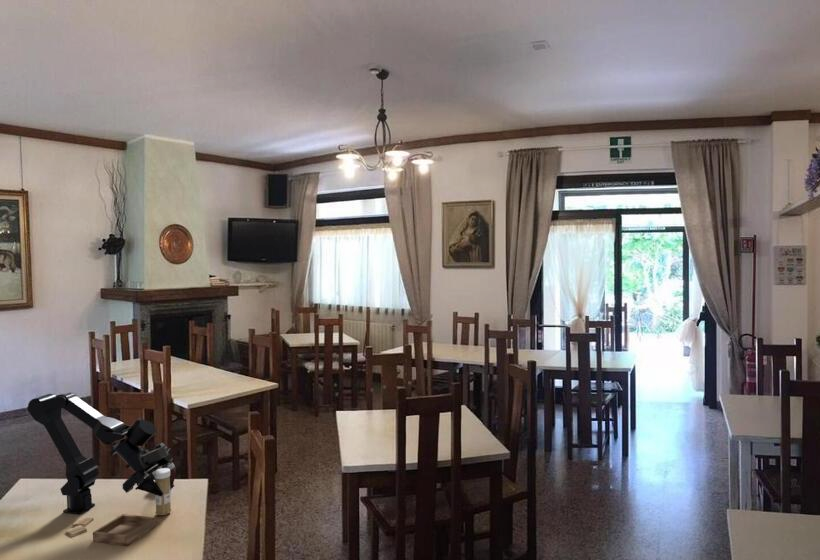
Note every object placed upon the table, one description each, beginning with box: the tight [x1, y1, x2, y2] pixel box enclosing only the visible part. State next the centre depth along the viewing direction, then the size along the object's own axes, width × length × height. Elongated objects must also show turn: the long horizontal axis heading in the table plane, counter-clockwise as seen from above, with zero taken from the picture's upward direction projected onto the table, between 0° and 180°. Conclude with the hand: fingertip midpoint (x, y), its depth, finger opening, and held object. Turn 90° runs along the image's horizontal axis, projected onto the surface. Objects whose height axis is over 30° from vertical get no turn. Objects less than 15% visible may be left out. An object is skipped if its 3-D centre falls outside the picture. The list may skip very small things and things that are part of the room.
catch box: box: [92, 513, 157, 547], centre depth 163 cm, size 12×12×2 cm
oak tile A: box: [72, 517, 95, 528], centre depth 169 cm, size 4×4×1 cm
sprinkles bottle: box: [153, 468, 172, 516], centre depth 174 cm, size 5×5×13 cm
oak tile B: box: [65, 525, 88, 538], centre depth 164 cm, size 4×4×1 cm
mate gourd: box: [167, 447, 177, 488], centre depth 195 cm, size 8×8×15 cm
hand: (166, 492), depth 174 cm, fingers closed on sprinkles bottle, 4 cm apart
